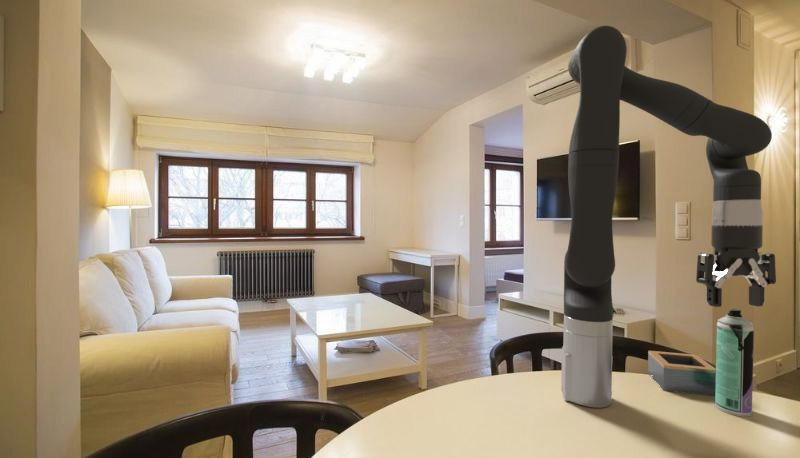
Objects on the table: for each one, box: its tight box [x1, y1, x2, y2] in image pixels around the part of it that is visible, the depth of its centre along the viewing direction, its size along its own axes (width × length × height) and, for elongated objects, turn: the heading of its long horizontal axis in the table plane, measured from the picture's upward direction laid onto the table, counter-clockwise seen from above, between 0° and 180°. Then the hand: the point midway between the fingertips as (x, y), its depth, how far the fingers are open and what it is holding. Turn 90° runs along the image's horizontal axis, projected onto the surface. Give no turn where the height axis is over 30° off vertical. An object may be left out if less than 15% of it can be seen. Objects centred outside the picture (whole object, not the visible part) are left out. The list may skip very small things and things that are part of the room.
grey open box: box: [647, 350, 716, 397], centre depth 87 cm, size 10×10×6 cm
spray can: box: [714, 308, 755, 418], centre depth 75 cm, size 6×6×20 cm
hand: (735, 305), depth 75 cm, fingers open, 8 cm apart
